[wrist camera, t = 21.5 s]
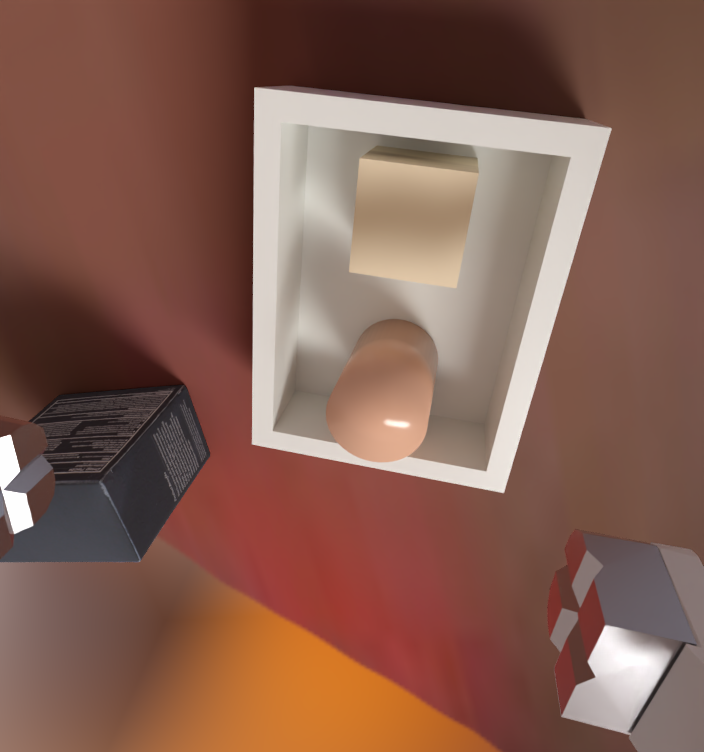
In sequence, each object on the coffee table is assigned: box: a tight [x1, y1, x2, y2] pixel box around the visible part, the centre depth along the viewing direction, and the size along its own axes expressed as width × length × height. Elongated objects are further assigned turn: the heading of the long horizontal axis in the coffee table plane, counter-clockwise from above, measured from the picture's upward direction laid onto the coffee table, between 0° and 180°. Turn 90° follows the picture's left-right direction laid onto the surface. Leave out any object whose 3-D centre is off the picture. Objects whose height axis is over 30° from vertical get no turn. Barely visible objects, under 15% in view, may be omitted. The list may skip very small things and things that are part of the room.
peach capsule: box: [326, 319, 438, 462], centre depth 30 cm, size 5×5×7 cm
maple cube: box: [349, 146, 479, 288], centre depth 26 cm, size 5×5×5 cm
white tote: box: [252, 86, 612, 493], centre depth 29 cm, size 14×18×6 cm
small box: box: [0, 385, 210, 562], centre depth 36 cm, size 11×6×10 cm, turn 102°
